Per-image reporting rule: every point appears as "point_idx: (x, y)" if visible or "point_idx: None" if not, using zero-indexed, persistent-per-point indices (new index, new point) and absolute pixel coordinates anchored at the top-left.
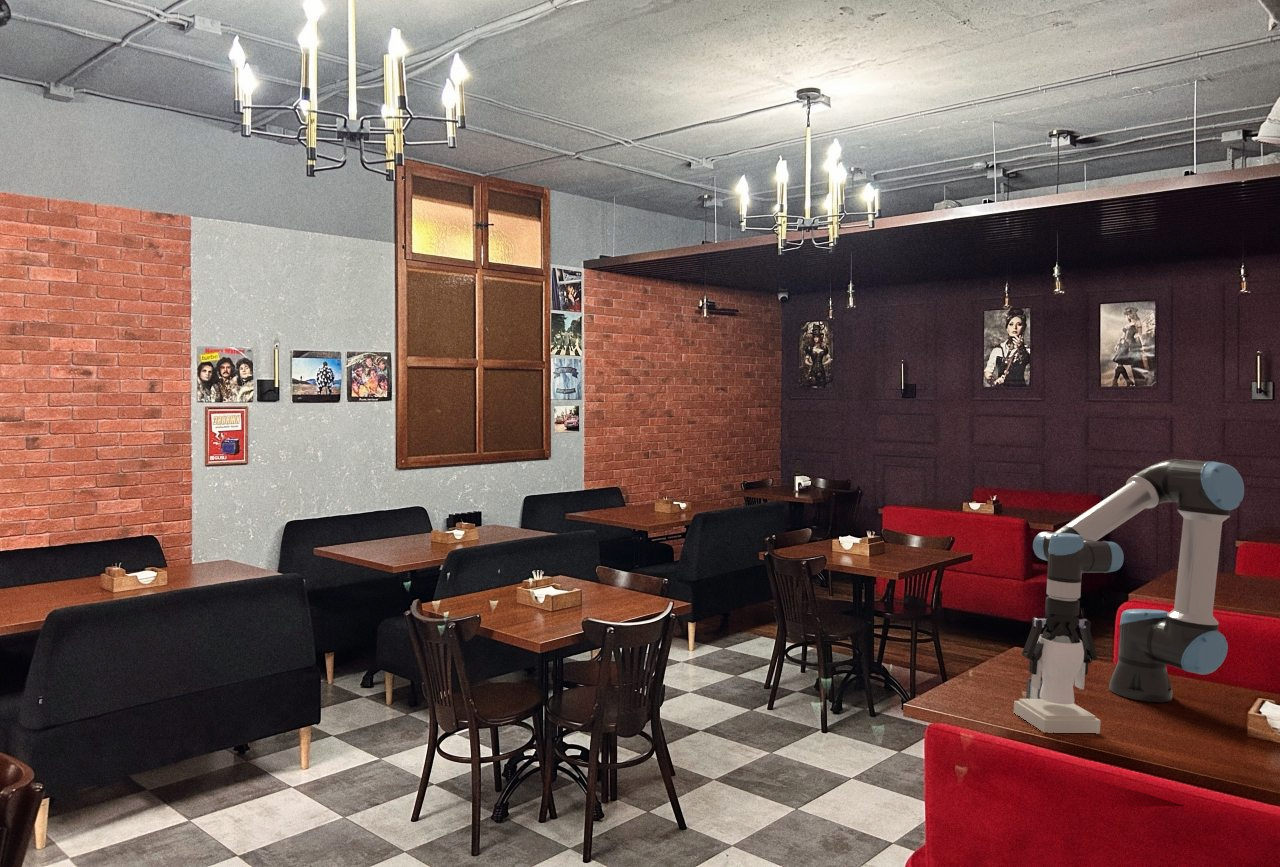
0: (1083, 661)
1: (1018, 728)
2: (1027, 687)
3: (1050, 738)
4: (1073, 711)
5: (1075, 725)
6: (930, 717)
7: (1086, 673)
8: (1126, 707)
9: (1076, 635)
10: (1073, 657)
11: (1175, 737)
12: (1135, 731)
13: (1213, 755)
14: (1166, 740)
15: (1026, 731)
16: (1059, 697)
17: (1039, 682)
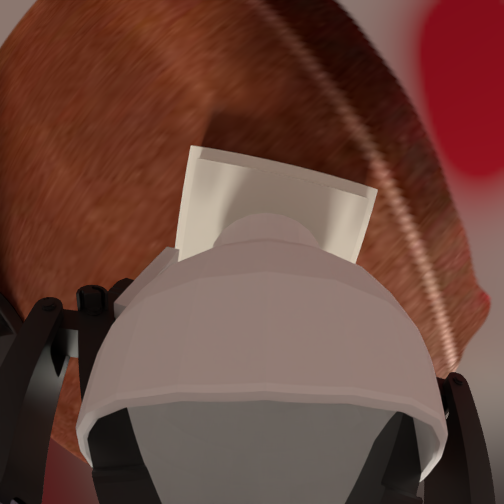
0: (113, 322)
1: (394, 235)
2: None
3: (372, 152)
4: (239, 211)
5: (276, 161)
6: (481, 323)
7: (125, 281)
8: (36, 288)
9: (117, 496)
10: (300, 266)
11: (49, 112)
12: (95, 152)
13: (67, 22)
14: (77, 93)
15: (392, 212)
16: (302, 233)
17: None
